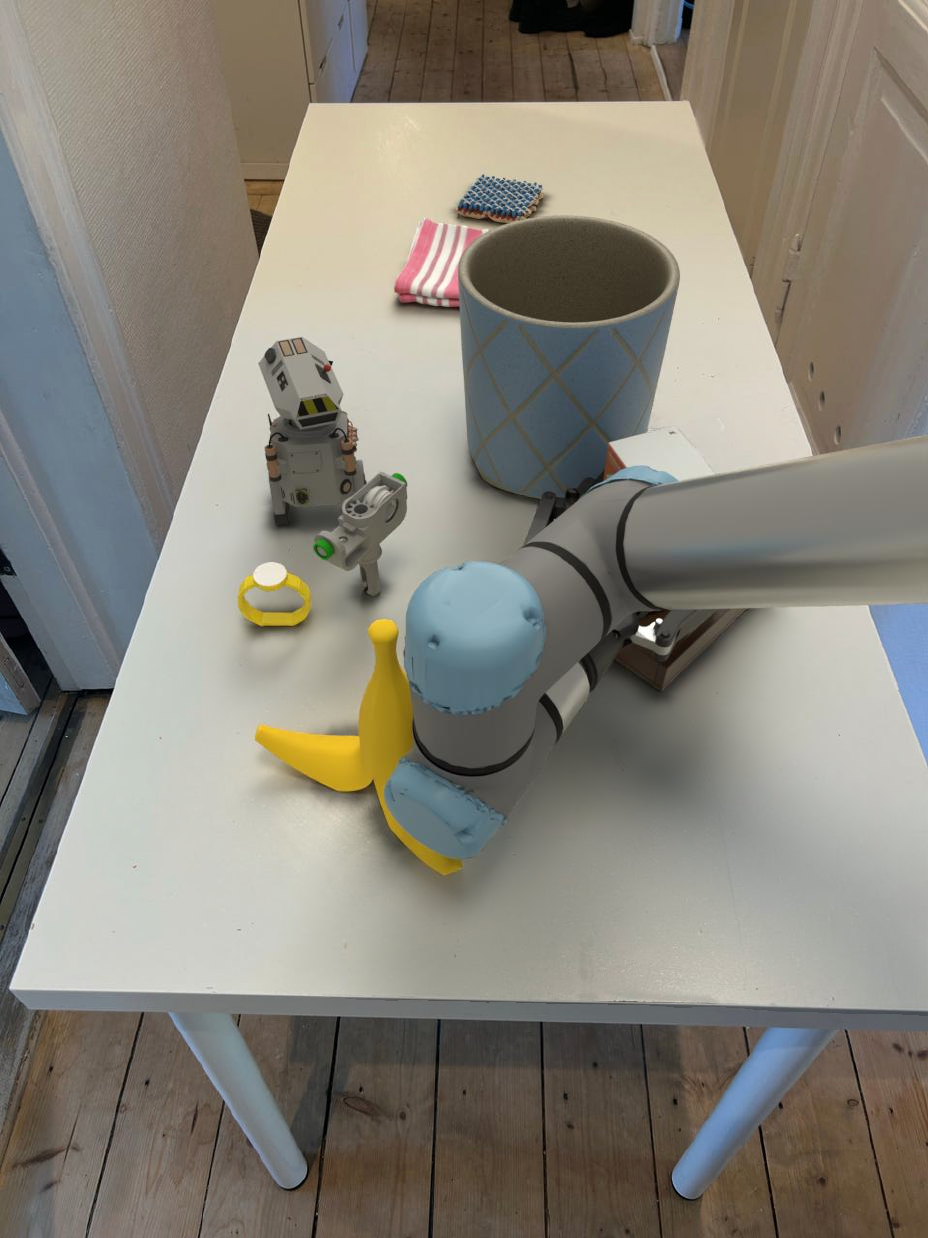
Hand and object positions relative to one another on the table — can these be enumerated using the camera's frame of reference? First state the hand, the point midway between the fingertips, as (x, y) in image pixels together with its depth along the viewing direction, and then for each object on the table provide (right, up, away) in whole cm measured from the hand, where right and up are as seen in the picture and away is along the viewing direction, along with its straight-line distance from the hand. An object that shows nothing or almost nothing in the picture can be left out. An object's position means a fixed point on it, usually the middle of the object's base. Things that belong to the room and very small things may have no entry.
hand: (676, 488), depth 76 cm
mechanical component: (-26, -9, +4) cm, 28 cm away
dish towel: (-14, +32, +39) cm, 53 cm away
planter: (-9, +6, +16) cm, 20 cm away
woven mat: (-13, +48, +52) cm, 72 cm away
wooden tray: (-2, -8, +4) cm, 9 cm away
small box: (-2, -8, +3) cm, 9 cm away
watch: (-34, -11, +2) cm, 36 cm away
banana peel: (-25, -22, -8) cm, 35 cm away
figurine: (-32, +1, +12) cm, 34 cm away
